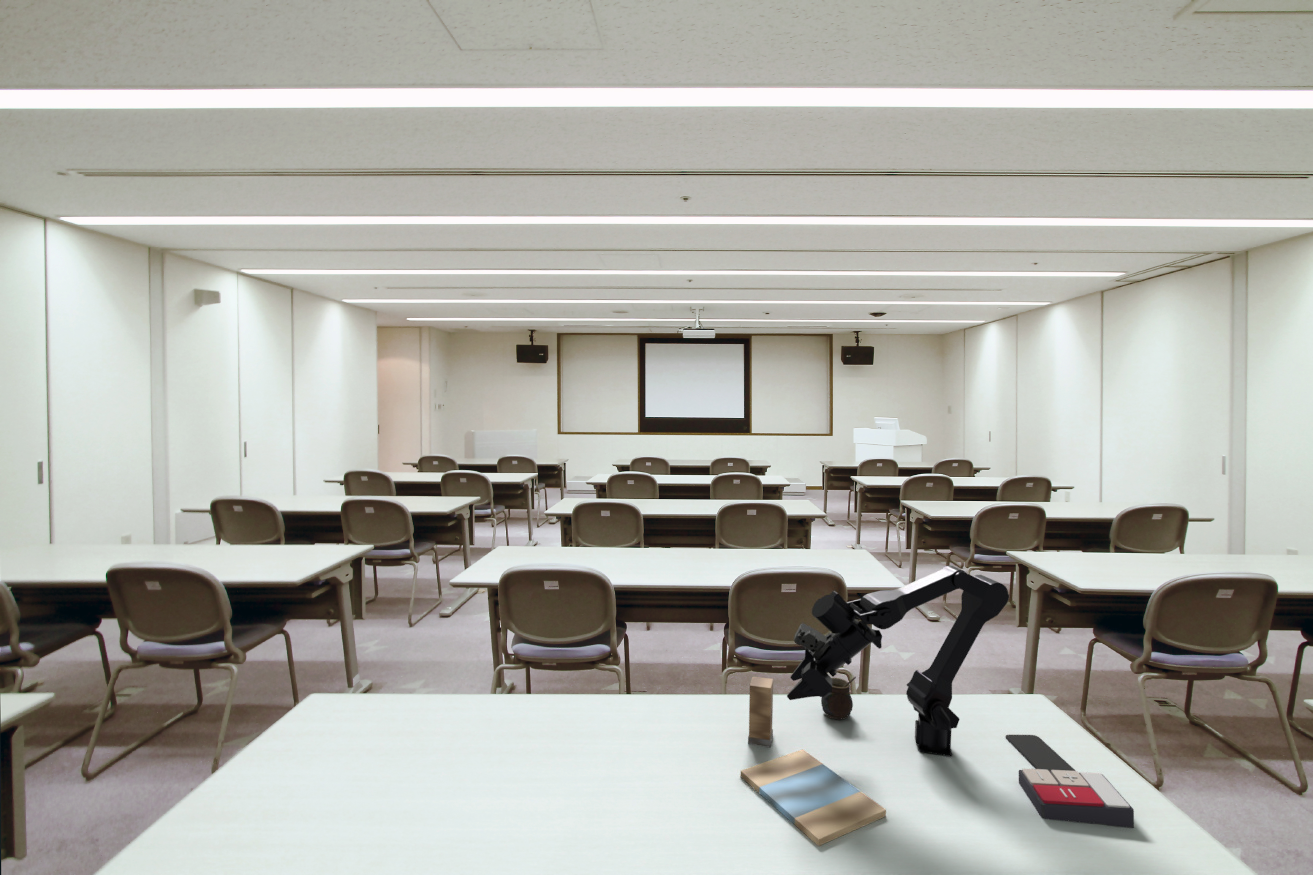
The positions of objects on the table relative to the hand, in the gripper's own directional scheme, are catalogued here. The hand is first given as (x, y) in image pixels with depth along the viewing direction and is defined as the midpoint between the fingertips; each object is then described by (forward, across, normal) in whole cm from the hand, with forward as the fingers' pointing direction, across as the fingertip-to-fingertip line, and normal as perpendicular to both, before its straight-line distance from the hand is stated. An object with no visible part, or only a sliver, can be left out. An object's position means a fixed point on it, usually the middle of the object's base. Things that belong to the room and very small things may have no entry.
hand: (790, 688), depth 137 cm
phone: (-27, -11, +45) cm, 54 cm away
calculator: (-28, +5, +46) cm, 54 cm away
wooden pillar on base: (+13, 0, +5) cm, 14 cm away
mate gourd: (+2, -16, +16) cm, 23 cm away
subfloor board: (+5, +17, +12) cm, 21 cm away
